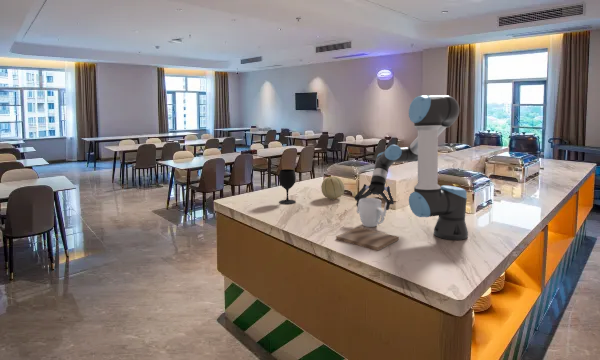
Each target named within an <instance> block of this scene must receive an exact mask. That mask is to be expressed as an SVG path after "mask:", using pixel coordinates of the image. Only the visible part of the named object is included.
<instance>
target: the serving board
mask: <svg viewBox="0 0 600 360" xmlns="http://www.w3.org/2000/svg"><path fill="white" fill-rule="evenodd" d="M399 237H400V236H398V235H393V234H388V233H385V232H380V231H376V230H372V229H368V228H365V227H355V228H353V229H350V230H348V231H345V232H343V233H341V234H338V235H336V236H335V240H338V241H340V242H345V243H349V244H351V245H355V246H359V247H363V248H367V249H370V250H373V251H380V250H381V249H383V248H385V247H387V246H390V245H392V244H393V243H396V242H398V241H399V240H400V238H399Z"/></svg>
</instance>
